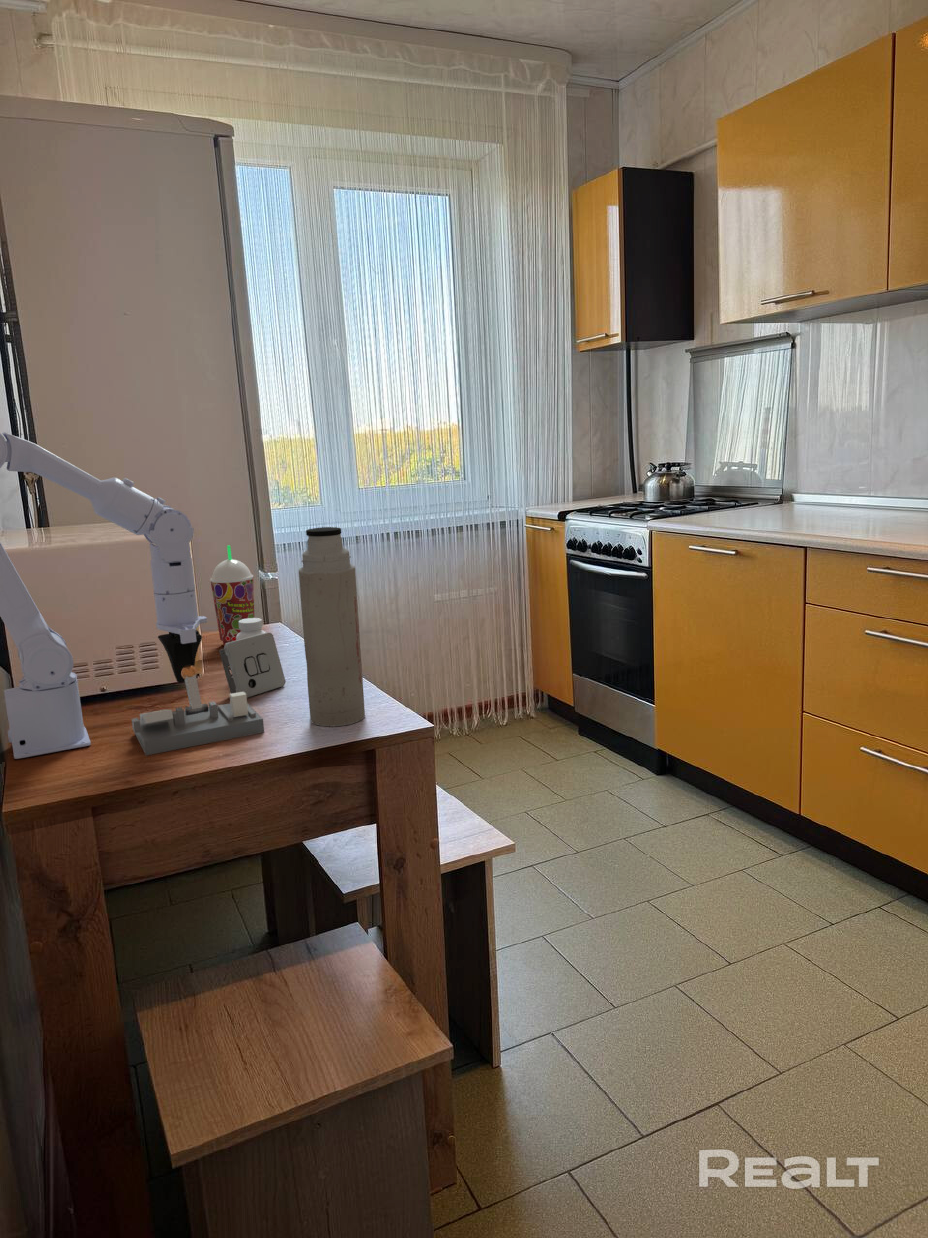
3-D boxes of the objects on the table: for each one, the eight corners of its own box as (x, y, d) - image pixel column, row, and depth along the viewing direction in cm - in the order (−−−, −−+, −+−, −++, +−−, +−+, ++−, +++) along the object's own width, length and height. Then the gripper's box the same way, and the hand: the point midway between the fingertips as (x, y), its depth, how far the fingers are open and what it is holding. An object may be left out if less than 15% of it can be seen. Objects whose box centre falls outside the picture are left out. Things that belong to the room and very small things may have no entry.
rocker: (145, 723, 117) (144, 713, 117) (140, 722, 122) (139, 713, 122) (173, 718, 119) (171, 708, 119) (167, 717, 124) (165, 708, 124)
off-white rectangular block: (234, 717, 123) (232, 696, 122) (231, 714, 125) (229, 694, 124) (248, 714, 124) (246, 694, 123) (245, 711, 125) (243, 691, 125)
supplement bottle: (239, 679, 150) (233, 625, 148) (239, 671, 155) (234, 618, 153) (271, 676, 151) (266, 622, 149) (270, 668, 156) (265, 615, 154)
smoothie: (237, 651, 170) (227, 549, 165) (207, 646, 174) (197, 547, 170) (268, 641, 177) (259, 543, 172) (239, 637, 181) (230, 541, 177)
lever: (187, 713, 121) (177, 664, 123) (185, 717, 123) (176, 669, 125) (209, 709, 123) (199, 661, 125) (207, 713, 125) (197, 666, 126)
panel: (141, 756, 116) (137, 727, 115) (130, 734, 124) (127, 708, 124) (264, 732, 123) (261, 705, 122) (246, 713, 132) (243, 687, 131)
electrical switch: (241, 701, 138) (232, 644, 137) (222, 699, 142) (213, 643, 140) (287, 686, 145) (279, 632, 144) (267, 684, 149) (259, 631, 147)
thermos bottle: (366, 707, 132) (354, 523, 126) (363, 725, 125) (350, 529, 119) (313, 710, 132) (298, 526, 126) (307, 728, 124) (291, 532, 118)
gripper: (214, 594, 122) (223, 688, 125) (192, 580, 134) (201, 665, 137) (161, 601, 118) (172, 696, 121) (144, 586, 131) (155, 673, 134)
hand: (184, 681), depth 129 cm, fingers closed
